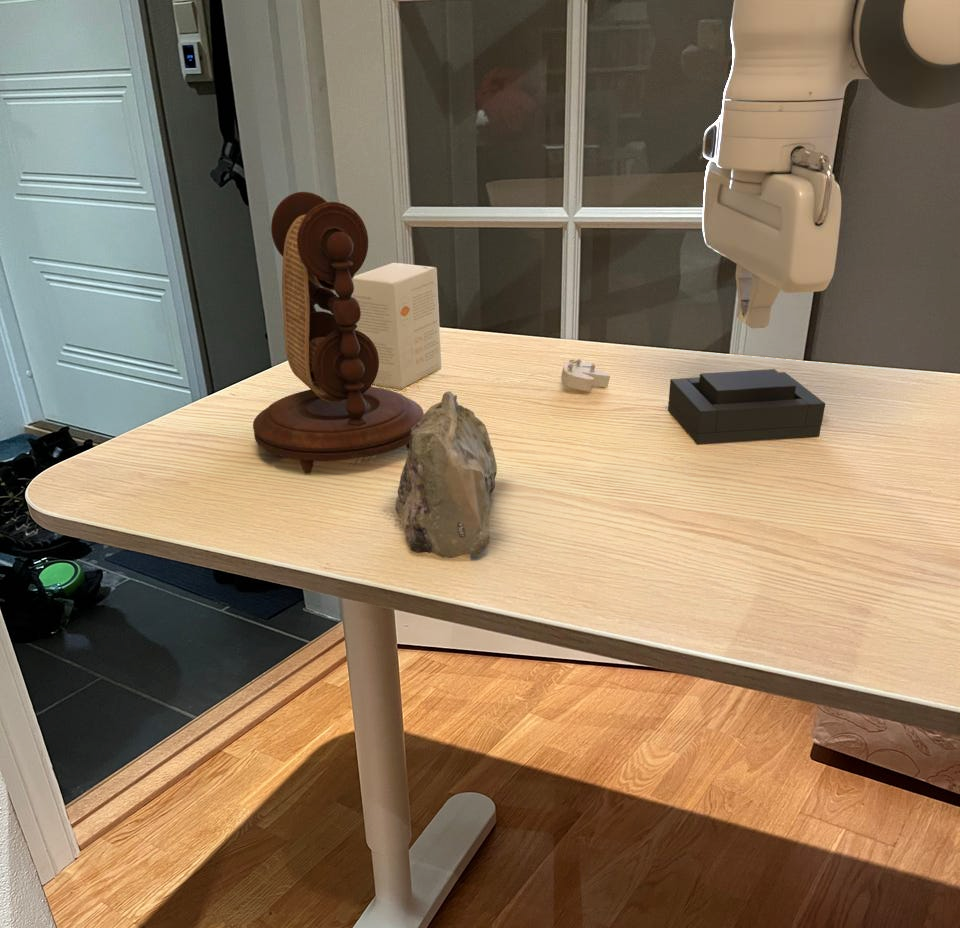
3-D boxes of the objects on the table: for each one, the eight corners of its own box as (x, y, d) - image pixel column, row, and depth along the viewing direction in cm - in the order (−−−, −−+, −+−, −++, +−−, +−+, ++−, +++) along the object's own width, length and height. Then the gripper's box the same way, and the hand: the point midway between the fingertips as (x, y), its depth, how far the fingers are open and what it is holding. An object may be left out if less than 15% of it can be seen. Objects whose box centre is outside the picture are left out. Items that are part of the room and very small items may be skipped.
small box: (400, 362, 103) (393, 261, 97) (443, 369, 101) (438, 265, 95) (356, 382, 97) (346, 276, 92) (400, 390, 95) (392, 282, 89)
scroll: (237, 434, 85) (196, 194, 74) (387, 406, 91) (368, 179, 80) (286, 491, 74) (246, 219, 63) (453, 455, 80) (442, 199, 69)
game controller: (616, 392, 93) (617, 366, 91) (503, 404, 91) (502, 377, 89) (598, 375, 97) (599, 349, 96) (490, 386, 96) (489, 360, 94)
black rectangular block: (769, 401, 87) (774, 368, 85) (791, 419, 82) (796, 385, 81) (696, 405, 86) (699, 373, 84) (713, 424, 82) (717, 390, 80)
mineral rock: (462, 475, 76) (457, 351, 71) (571, 508, 70) (575, 376, 65) (348, 533, 68) (333, 397, 62) (461, 575, 62) (455, 430, 57)
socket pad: (780, 403, 89) (785, 371, 87) (819, 436, 81) (825, 403, 80) (667, 410, 88) (670, 378, 86) (696, 445, 81) (700, 411, 79)
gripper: (878, 154, 64) (840, 356, 72) (768, 129, 81) (746, 294, 89) (789, 157, 63) (760, 361, 71) (697, 131, 81) (681, 298, 88)
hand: (751, 324), depth 80 cm, fingers closed
